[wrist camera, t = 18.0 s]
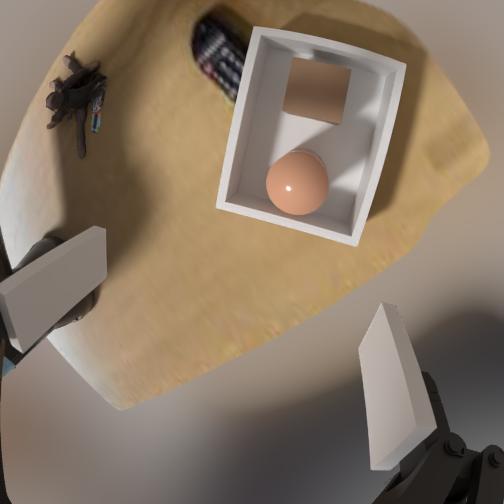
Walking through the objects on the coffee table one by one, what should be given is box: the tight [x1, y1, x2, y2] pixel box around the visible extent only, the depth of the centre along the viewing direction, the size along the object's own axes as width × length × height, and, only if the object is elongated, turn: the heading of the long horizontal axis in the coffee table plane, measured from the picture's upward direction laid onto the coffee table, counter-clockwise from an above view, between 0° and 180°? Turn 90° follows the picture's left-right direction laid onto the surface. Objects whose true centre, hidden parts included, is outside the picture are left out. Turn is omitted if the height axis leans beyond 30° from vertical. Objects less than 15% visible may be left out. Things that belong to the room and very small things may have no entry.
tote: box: [216, 26, 407, 247], centre depth 26 cm, size 14×18×5 cm
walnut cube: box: [282, 57, 351, 125], centre depth 24 cm, size 5×5×5 cm
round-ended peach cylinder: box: [266, 149, 329, 215], centre depth 26 cm, size 5×5×7 cm
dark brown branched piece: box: [46, 55, 106, 159], centre depth 31 cm, size 12×10×12 cm
